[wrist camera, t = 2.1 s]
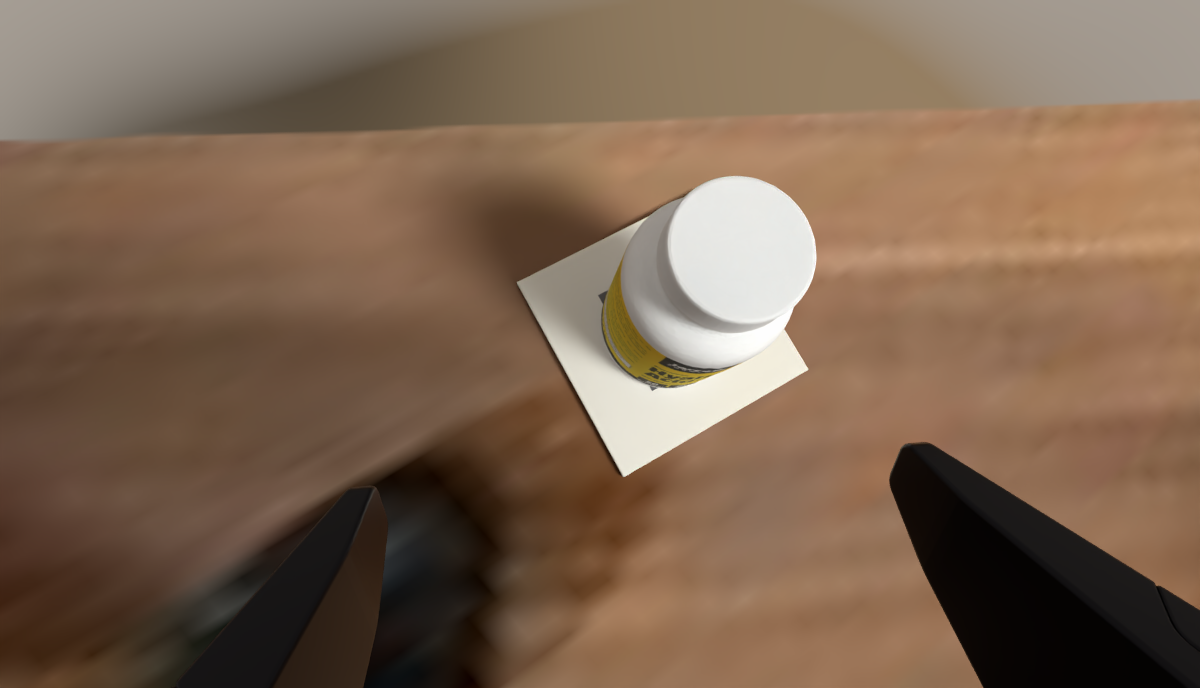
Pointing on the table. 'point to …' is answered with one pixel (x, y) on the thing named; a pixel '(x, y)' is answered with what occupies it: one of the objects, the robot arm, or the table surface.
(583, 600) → the table surface
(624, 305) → the supplement bottle
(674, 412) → the tile
